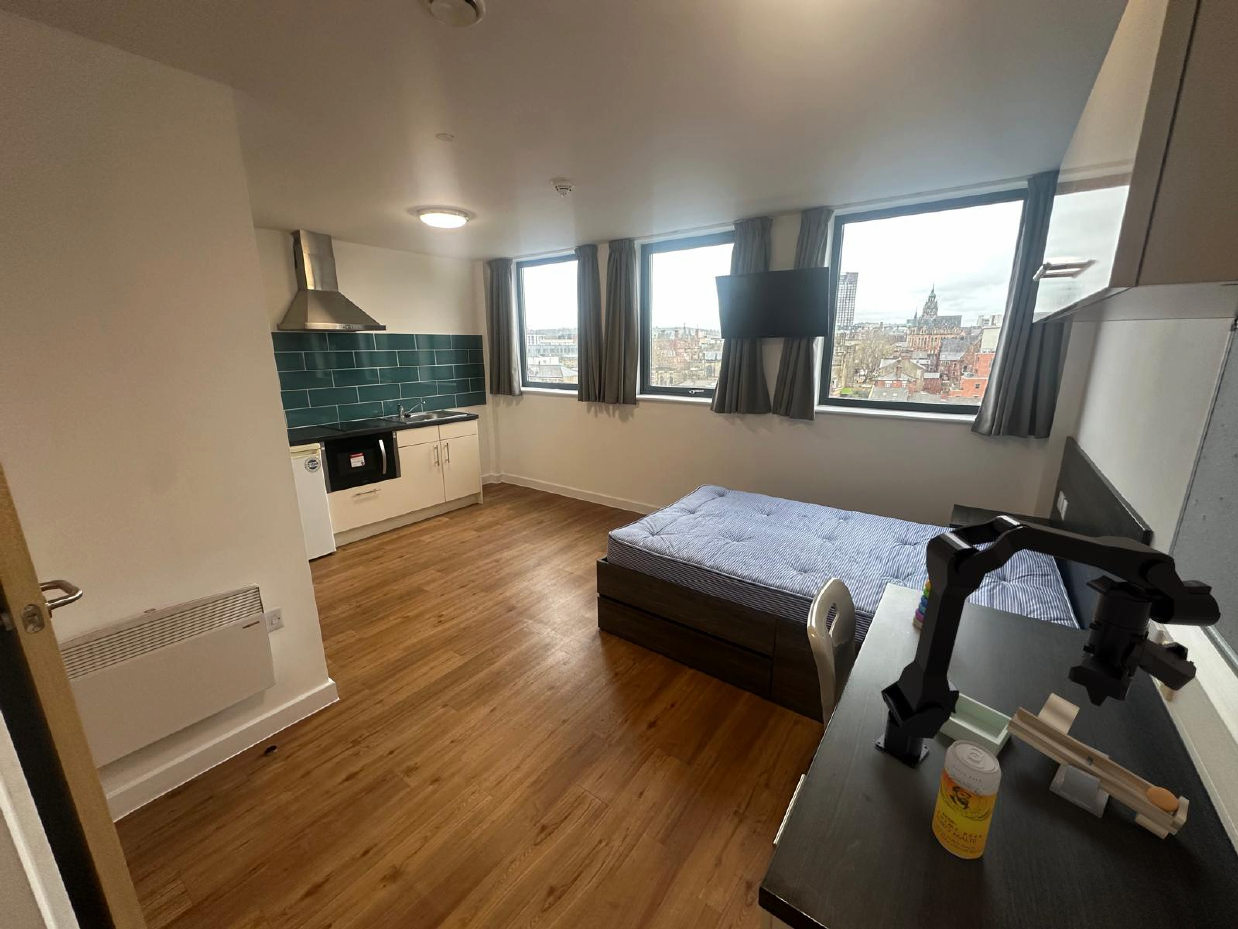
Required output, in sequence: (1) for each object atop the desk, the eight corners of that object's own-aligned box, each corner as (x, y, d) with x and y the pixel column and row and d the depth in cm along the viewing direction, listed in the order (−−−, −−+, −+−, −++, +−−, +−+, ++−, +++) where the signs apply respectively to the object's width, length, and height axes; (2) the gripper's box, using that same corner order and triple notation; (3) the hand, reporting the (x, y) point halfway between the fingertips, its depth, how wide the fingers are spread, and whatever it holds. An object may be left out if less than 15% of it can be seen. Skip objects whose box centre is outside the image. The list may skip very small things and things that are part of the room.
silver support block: (1100, 818, 72) (1110, 788, 71) (1049, 789, 77) (1056, 761, 75) (1111, 788, 77) (1119, 760, 75) (1061, 763, 81) (1069, 736, 80)
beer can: (926, 840, 69) (943, 755, 65) (937, 812, 73) (953, 731, 69) (977, 873, 65) (998, 784, 61) (986, 841, 69) (1006, 755, 65)
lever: (1168, 844, 68) (1185, 822, 66) (1001, 737, 82) (1011, 717, 80) (1180, 779, 77) (1195, 759, 76) (1029, 694, 92) (1039, 675, 90)
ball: (1164, 820, 68) (1183, 811, 67) (1139, 799, 70) (1157, 790, 69) (1167, 808, 70) (1185, 799, 69) (1142, 788, 72) (1159, 779, 70)
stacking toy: (949, 640, 115) (962, 569, 110) (910, 628, 120) (922, 559, 115) (951, 625, 121) (964, 557, 116) (914, 614, 126) (925, 548, 121)
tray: (993, 761, 82) (997, 744, 81) (935, 728, 89) (938, 712, 88) (1010, 735, 87) (1014, 719, 86) (953, 706, 94) (956, 691, 93)
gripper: (1194, 671, 63) (1161, 767, 67) (1205, 621, 74) (1176, 707, 78) (1079, 631, 71) (1056, 719, 75) (1104, 592, 82) (1083, 671, 86)
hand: (1095, 704), depth 78 cm, fingers closed
